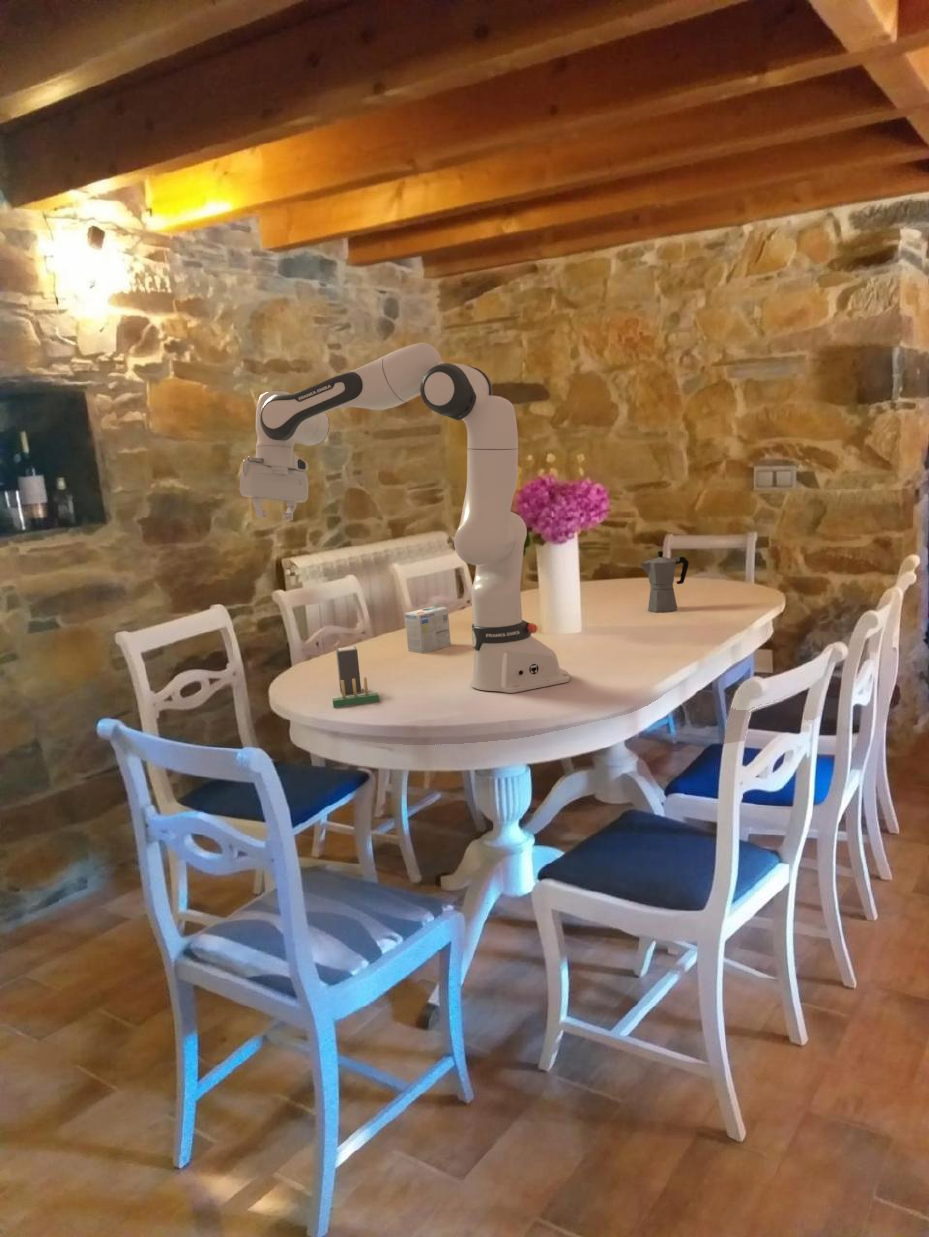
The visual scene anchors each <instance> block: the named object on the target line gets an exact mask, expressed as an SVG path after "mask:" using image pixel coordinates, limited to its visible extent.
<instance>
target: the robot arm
mask: <svg viewBox="0 0 929 1237" xmlns="http://www.w3.org/2000/svg"><path fill="white" fill-rule="evenodd" d="M443 361H444V360H442V357H441V355H440V353H439V351H438V350H437V349H436V348H435V347H434V345H431V344H429V343H428V342H418V343H413V344H410V345H407V346H404V347H402V348H401V347H400V348H398V349H395V350H394V351H392V352H390V353H387V354H385V355H383V356H381V357H380V358H376V359H375V360H372V361H371V362H369V363H367V364H364V365H362V366H360V367H358V368H356V369H352V370H349V371H347V372H344V373H342V374H340V375H336V376H334V377H331V378H328V379H326V380H324V381H323V380H322V381H321V382H319V383H316V384H314V385H313V384H312V385H311V386H309V387H307V388H305V389H302V390H299V391H297V392H293V393H290V392H289V391H285V390H270V391H266V392H264V393H263V394H261V395H260V396H259V398H258V401H257V404H256V409H255V410H256V412H255V432H256V436H257V439H256V445H255V457H252V456H247V457H246V458H245V459H243V461H242V468H241V472H240V479H239V493H240V495H241V496H242V497H245V498H251V503H252V505H253V507H254V510H255V517H256V518H257V519H258V518H259V519H265V518H266V516H267V514H266V513H267V510H266V509H264V507H263V504H262V503H264V500H267V501H268V500H269V501H279V502H284V503H285V502H286V503H285V504H286V505H285V506H286V507H287V508H286V512H283V520H285V521H293V519H294V512H295V511H296V509H297V505H298V504H297V503H306V502H307V500H308V498H309V478H308V474H307V473H306V472H307V471H308V469H309V464H308V462H307V461H305V460H304V459H303V458H301V457H299V456H298V455H297V454H296V453H294V446H295V445H296V444H298V445H303V446H308V447H310V446H317V445H320V444H321V443H323V442H324V441H325V440H326V438H327V436H328V434H329V431H330V418H329V416H328V414H327V413H328V412H330V411H333V410H335V409H339V408H341V409H342V408H360V409H367V410H373V411H384V410H385V411H386V410H389V409H391V408H396V407H398V406H401V405H403V404H405V403H407V402H409V401H411V400H413V399H415V398H417V397H419V396H420V397H421V399H422V401H423V403H424V404H425V406H427V407H428V408H429V409H430V410H431V411H433V412H434V413H436V414H438V415H441V416H443V417H447V418H450V419H453V420H456V421H461V420H462V421H463V423H464V424H465V427H466V433H467V434H466V435H467V443H466V444H467V445H466V446H467V450H466V451H467V456H466V457H467V458H466V460H467V463H466V466H467V468H466V488H465V495H464V500H463V506H462V510H461V516H460V520H459V521H460V522H459V525H458V528H457V530H456V532H455V534H454V538H453V545H454V546H453V547H454V550H455V553H456V554H457V556H458V557H459V558H460V559H461V560H462V561H463V562H464V563H466V564H469V565H473V566H475V573H474V579H473V582H472V583H473V584H472V586H471V590H470V594H471V595H470V597H471V606H472V622H473V623H472V625H471V639H472V641H471V642H472V648H473V649H474V656H473V658H474V659H473V671H472V677H471V678H472V679H471V682H470V686H471V687H472V688H474V689H477V690H480V691H488V692H503V693H507V694H514V693H520V692H525V691H529V690H535V689H539V688H540V689H541V688H545V687H549V686H555V685H559V684H564V683H568V682H570V680H571V676H570V673H569V672H568V671H567V670H565V669H563V668H562V667H560V663H559V659H558V657H557V655H556V653H555V651H554V650H553V649H552V648H550V647H549V646H547V645H546V644H544V643H543V642H542V641H540V640H539V639H536V637H534V636H532V634H535V633H537V631H538V630H539V628H538V625H536V624H535V623H533V622H528V621H526V620H524V619H523V612H522V611H523V610H522V596H521V595H522V594H521V581H522V570H523V561H524V551H525V550H524V546H525V543H526V540H527V536H528V534H527V533H528V530H527V525H526V523H525V521H524V520H523V518H522V517H521V516H520V515H519V514H517V513H515V512H513V511H511V510H512V504H513V500H514V495H515V492H516V490H517V487H518V476H519V475H518V473H519V471H518V470H519V465H518V464H519V436H518V435H519V431H518V424H517V417H516V411H515V407H514V405H513V404H512V402H511V401H510V400H508V399H506V398H505V397H502V396H499V395H498V396H497V395H493V384H492V381H491V380H490V377H488V375H487V374H485V372H483V371H482V370H481V369H479V368H477V367H474V366H469V365H466V364H463V363H448V362H445V363H444V362H443Z"/></svg>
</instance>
